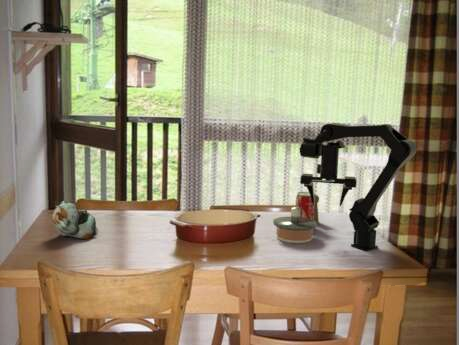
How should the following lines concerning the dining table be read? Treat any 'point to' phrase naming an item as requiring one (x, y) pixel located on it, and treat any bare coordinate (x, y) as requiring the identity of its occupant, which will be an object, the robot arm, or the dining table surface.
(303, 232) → the bowl
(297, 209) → the lid
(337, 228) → the dining table surface
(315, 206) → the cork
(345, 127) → the robot arm
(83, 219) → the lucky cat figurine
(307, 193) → the soda can
